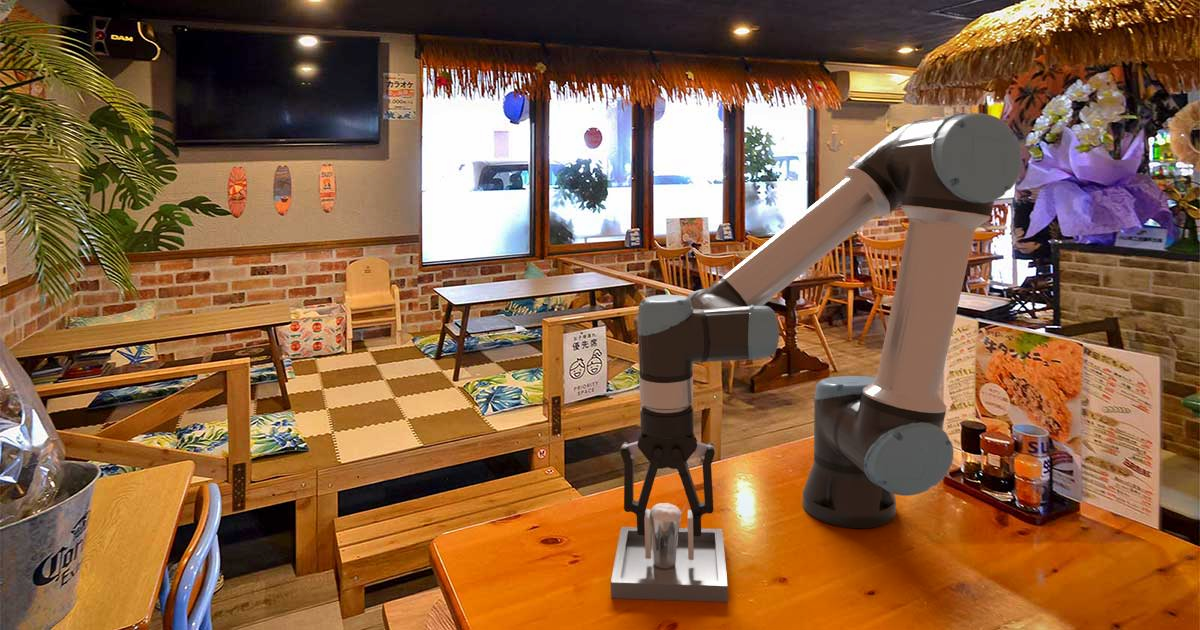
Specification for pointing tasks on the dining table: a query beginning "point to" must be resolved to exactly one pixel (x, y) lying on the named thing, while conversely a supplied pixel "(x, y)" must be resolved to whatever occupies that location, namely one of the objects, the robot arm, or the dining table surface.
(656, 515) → the milkshake
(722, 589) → the slate tray
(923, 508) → the dining table surface
